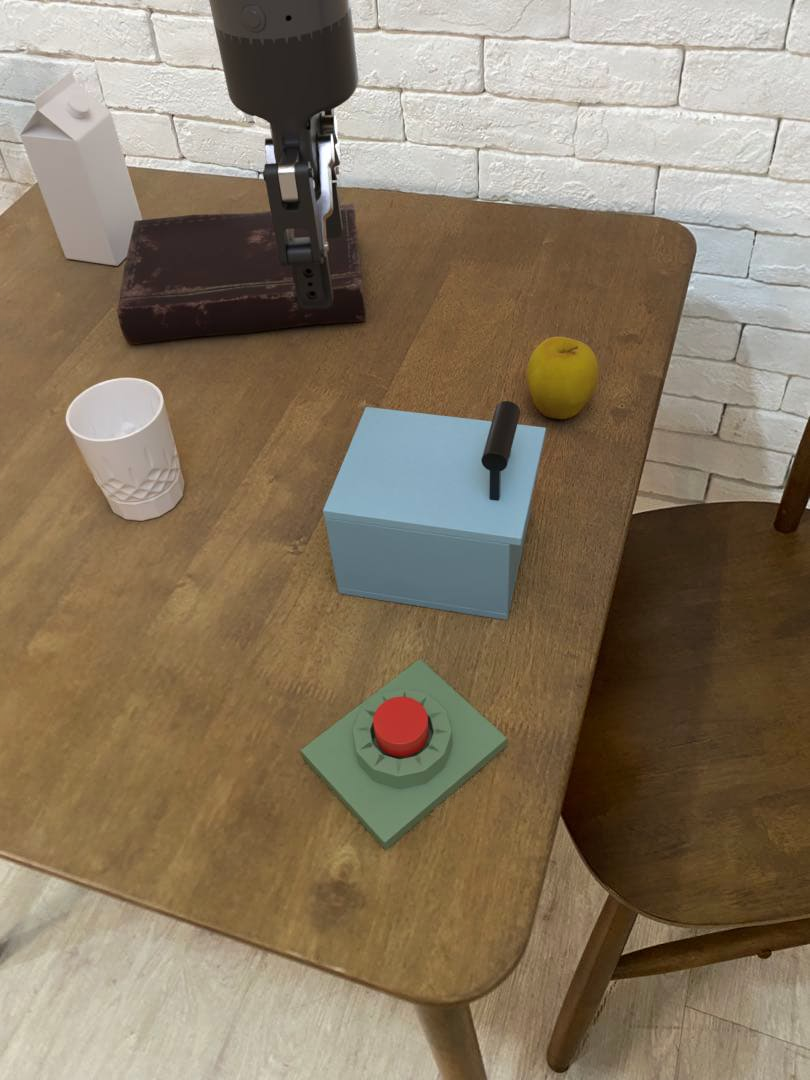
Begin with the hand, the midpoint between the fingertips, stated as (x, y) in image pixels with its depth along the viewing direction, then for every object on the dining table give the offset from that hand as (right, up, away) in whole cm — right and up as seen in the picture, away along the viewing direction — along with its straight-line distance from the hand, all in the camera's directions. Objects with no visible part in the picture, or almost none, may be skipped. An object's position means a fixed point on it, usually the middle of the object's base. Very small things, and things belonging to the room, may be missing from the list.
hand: (322, 269), depth 63 cm
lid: (+8, -13, +7) cm, 17 cm away
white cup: (-17, -14, +21) cm, 31 cm away
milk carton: (-30, +17, +49) cm, 60 cm away
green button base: (+5, -33, +2) cm, 33 cm away
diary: (-12, +10, +41) cm, 44 cm away
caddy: (+8, -19, +14) cm, 25 cm away
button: (+5, -31, 0) cm, 32 cm away
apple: (+20, -6, +25) cm, 33 cm away
